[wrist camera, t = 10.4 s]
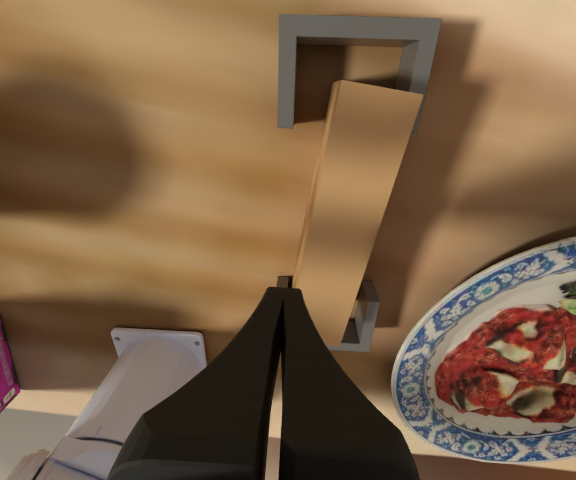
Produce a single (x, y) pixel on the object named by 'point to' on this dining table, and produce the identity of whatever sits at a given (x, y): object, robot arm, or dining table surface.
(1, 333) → the candy bar box
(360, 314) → the end cap
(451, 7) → the dining table surface
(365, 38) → the end cap
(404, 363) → the ceramic plate
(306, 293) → the slat
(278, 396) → the dining table surface
